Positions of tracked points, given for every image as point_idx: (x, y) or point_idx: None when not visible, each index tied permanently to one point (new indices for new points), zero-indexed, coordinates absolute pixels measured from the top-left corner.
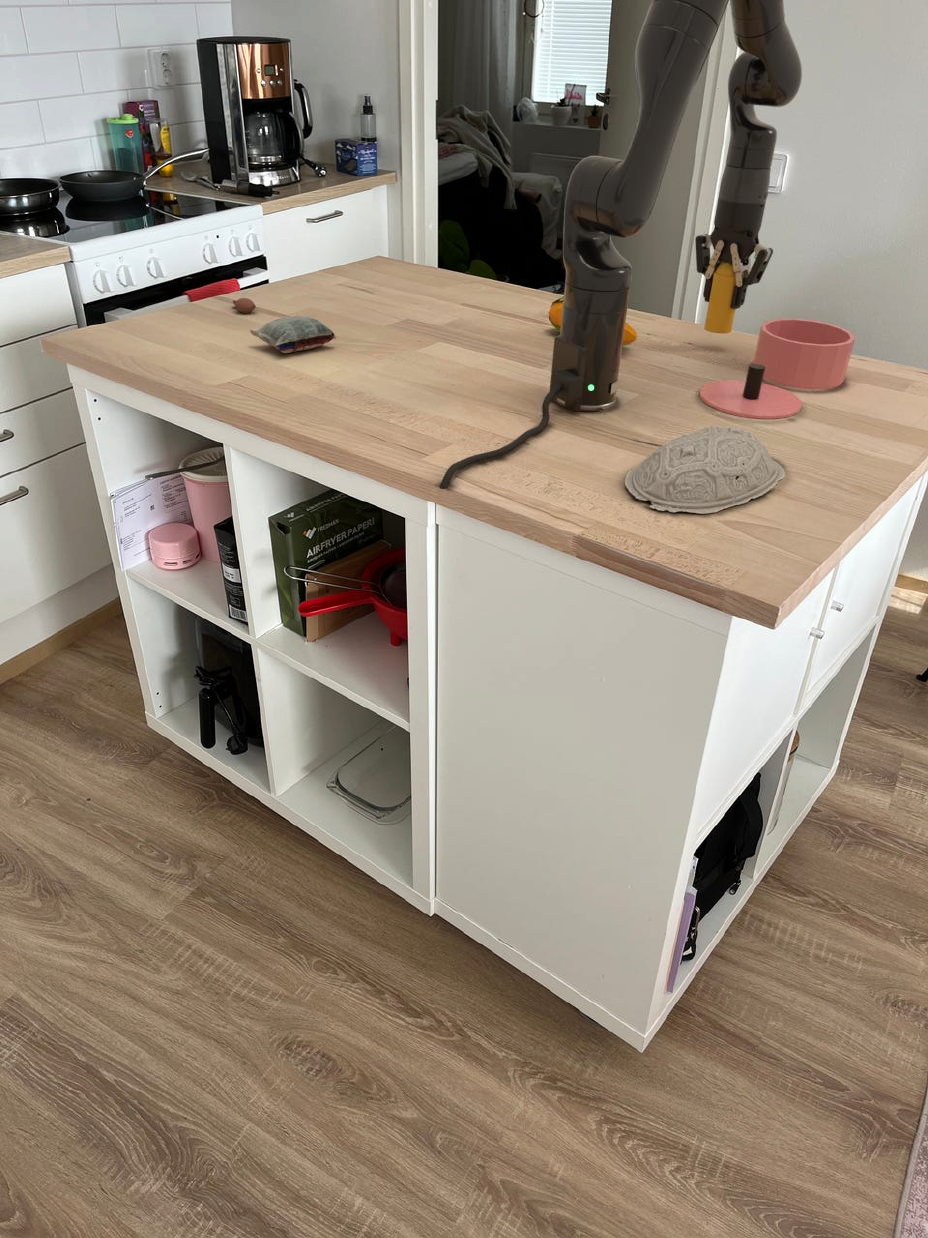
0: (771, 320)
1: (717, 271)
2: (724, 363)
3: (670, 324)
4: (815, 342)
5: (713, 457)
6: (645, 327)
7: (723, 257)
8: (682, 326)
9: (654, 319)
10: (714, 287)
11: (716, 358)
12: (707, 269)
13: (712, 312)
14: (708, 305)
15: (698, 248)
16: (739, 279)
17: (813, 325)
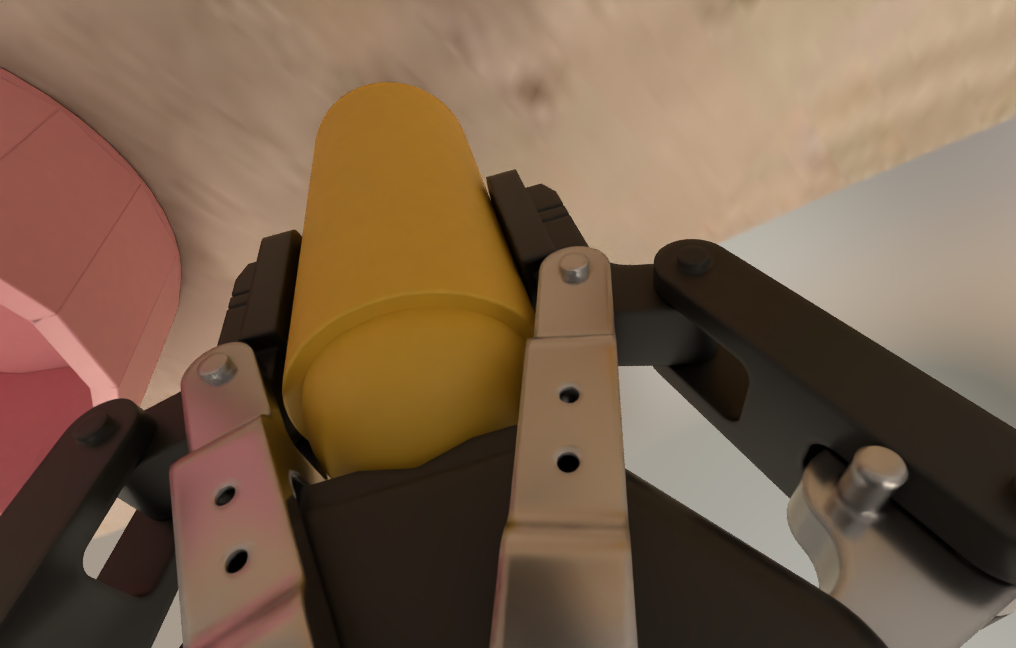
0: (77, 342)
1: (465, 324)
2: (198, 33)
3: (741, 191)
4: (71, 421)
5: None
6: (801, 60)
7: (480, 483)
8: (696, 217)
9: (815, 173)
10: (420, 214)
11: (292, 54)
12: (608, 296)
13: (378, 126)
14: (455, 155)
15: (897, 397)
16: (214, 392)
17: None
